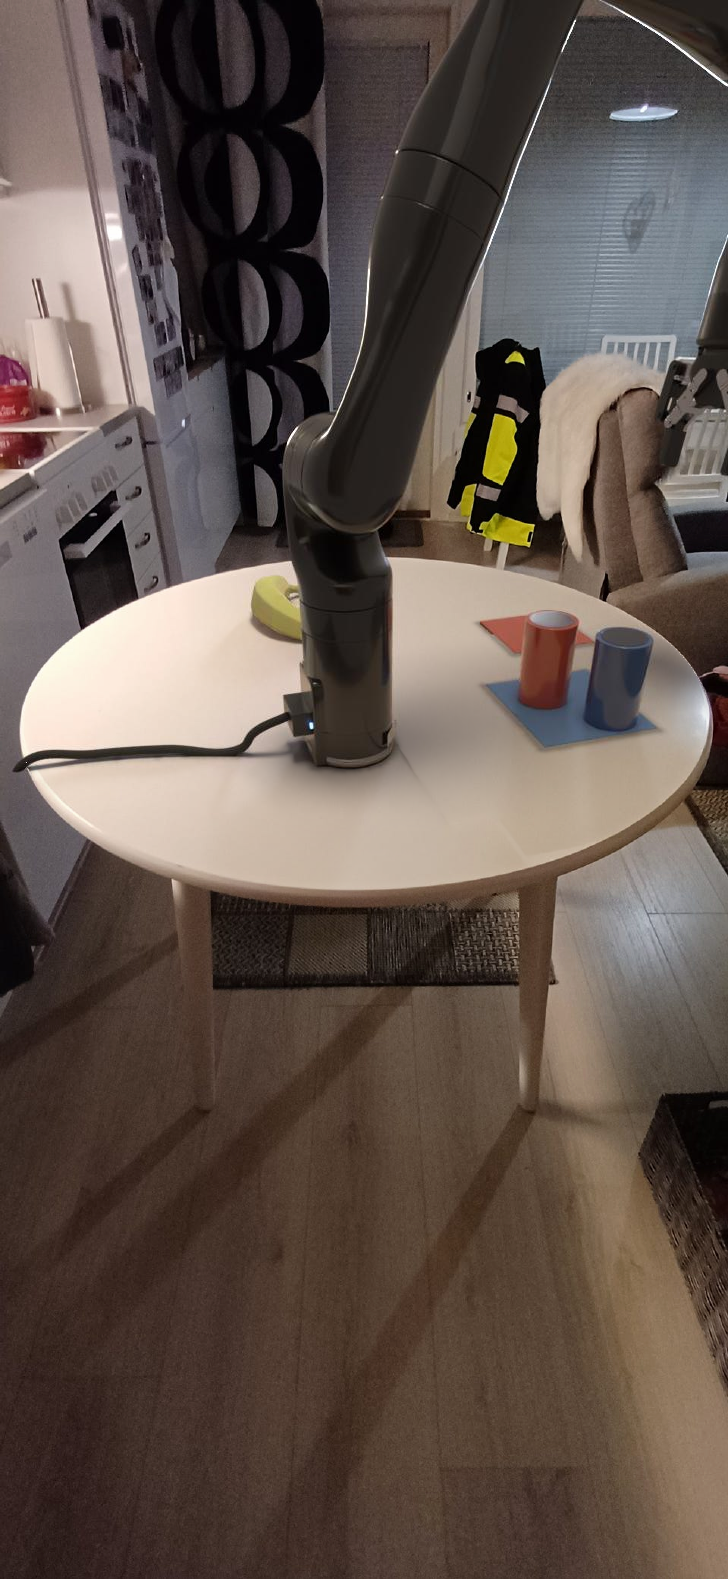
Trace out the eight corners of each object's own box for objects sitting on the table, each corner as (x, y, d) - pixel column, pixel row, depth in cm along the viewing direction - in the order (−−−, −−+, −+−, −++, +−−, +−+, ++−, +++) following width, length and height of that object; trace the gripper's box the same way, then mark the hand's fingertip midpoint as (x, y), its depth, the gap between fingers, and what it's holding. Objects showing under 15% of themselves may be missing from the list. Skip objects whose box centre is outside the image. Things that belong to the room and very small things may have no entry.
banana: (234, 588, 107) (275, 561, 125) (227, 625, 110) (268, 593, 127) (327, 618, 107) (355, 586, 124) (317, 655, 109) (346, 619, 127)
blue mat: (544, 749, 84) (544, 747, 84) (485, 686, 97) (485, 684, 97) (657, 730, 87) (657, 727, 87) (585, 671, 100) (586, 669, 100)
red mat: (514, 655, 105) (515, 653, 105) (479, 623, 114) (480, 621, 114) (594, 644, 107) (594, 642, 107) (553, 613, 117) (553, 611, 117)
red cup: (530, 713, 91) (540, 632, 85) (509, 690, 95) (516, 613, 90) (576, 705, 92) (589, 625, 86) (553, 684, 97) (563, 607, 91)
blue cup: (599, 735, 86) (614, 651, 80) (573, 710, 91) (585, 630, 85) (647, 726, 87) (665, 643, 82) (618, 703, 92) (633, 623, 87)
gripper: (667, 293, 80) (625, 460, 88) (786, 283, 69) (726, 476, 76) (716, 306, 84) (671, 467, 91) (837, 299, 73) (776, 483, 80)
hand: (697, 471), depth 84 cm, fingers open, 8 cm apart
